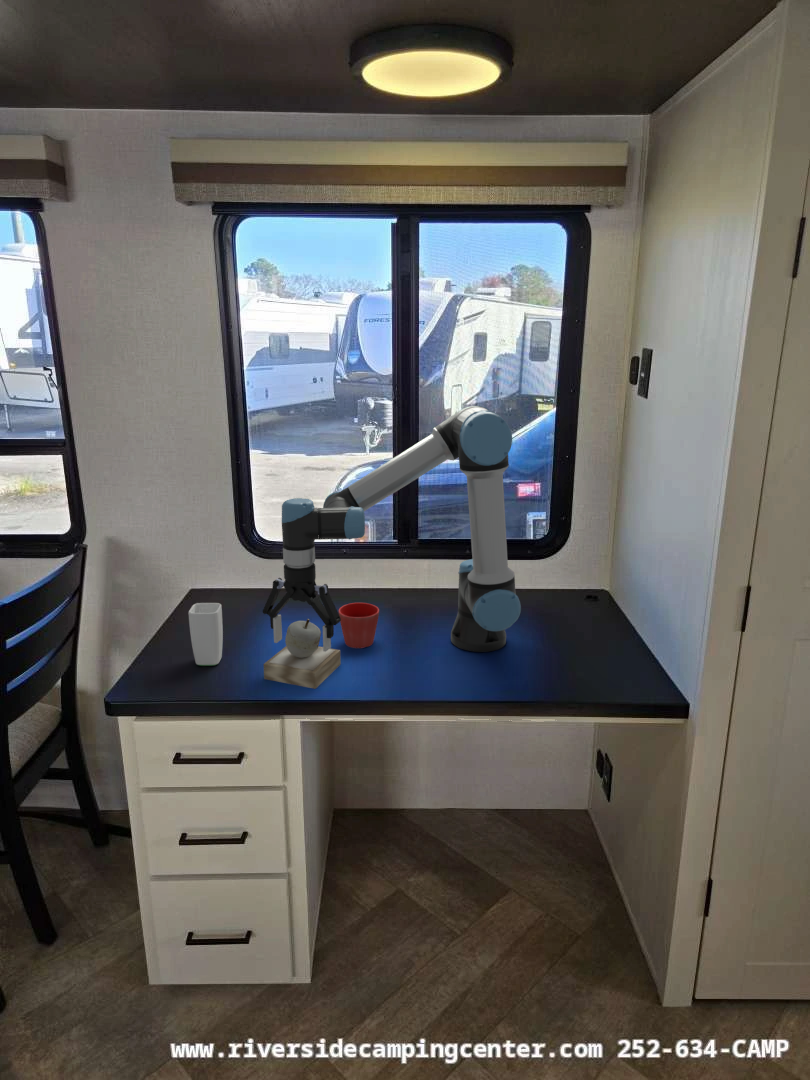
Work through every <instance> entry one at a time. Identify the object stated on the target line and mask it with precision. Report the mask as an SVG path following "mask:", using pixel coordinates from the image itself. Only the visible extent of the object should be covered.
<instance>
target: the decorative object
mask: <svg viewBox="0 0 810 1080" xmlns="http://www.w3.org/2000/svg"><path fill="white" fill-rule="evenodd" d="M310 620H311V619H309V618H307V619H306V620H297V621H296V620H295V621H294V622H291V623H290V624H289V626H287V630H286V634H285V638H284V639H285V641H284V643H285V647H286V646H287V649H288V651H289V652H290V653H291V654H292V655H294V656H296V657H300V658H304V657H308V656H310V655H312V654H313V653H314V652H315V651H316V650H317V648H318V646H319V645H320V641H321V634H322V631H321V629H320V628H319V627H318V626H317V625H316V624H315V623H313V622H311V621H310Z"/></svg>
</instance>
